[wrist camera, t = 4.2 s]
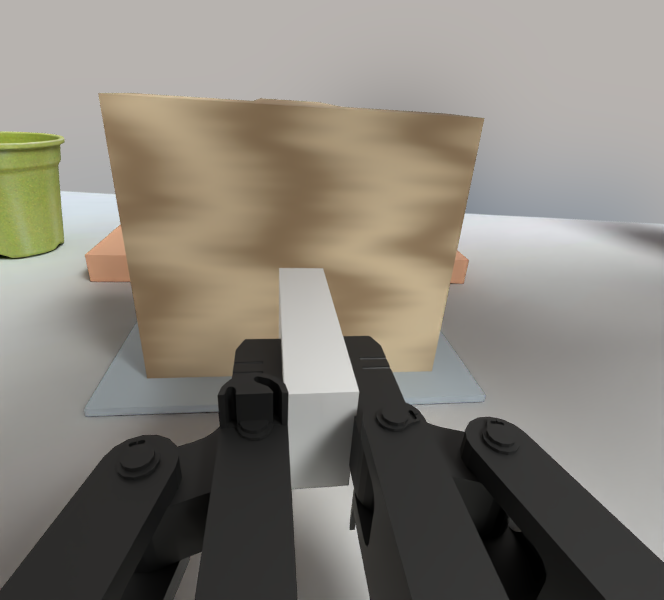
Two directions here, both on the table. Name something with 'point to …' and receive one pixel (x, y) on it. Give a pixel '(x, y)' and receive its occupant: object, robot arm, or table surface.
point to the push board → (201, 392)
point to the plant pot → (29, 193)
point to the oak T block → (285, 220)
